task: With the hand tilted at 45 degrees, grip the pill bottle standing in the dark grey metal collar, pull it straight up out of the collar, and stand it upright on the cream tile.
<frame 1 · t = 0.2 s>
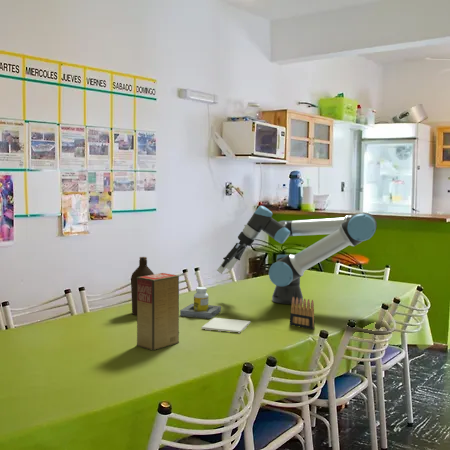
hand: (223, 270, 272), 15 cm above the table, tool tilted 35°, fingers open, 13 cm apart
food packaging: (158, 344, 204), on the table
ammunition clip: (301, 327, 231), on the table
pill bottle: (200, 314, 249), resting in metal collar
metal collar: (200, 313, 249), on the table
olive oil: (142, 313, 248), on the table
cream tile: (226, 326, 229), on the table
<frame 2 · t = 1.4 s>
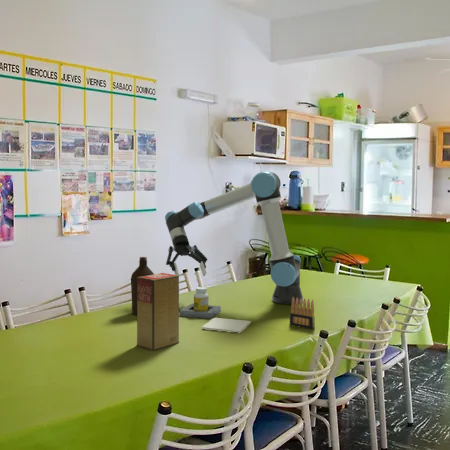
hand: (191, 275, 258), 15 cm above the table, tool tilted 45°, fingers open, 13 cm apart
nothing on the table moved.
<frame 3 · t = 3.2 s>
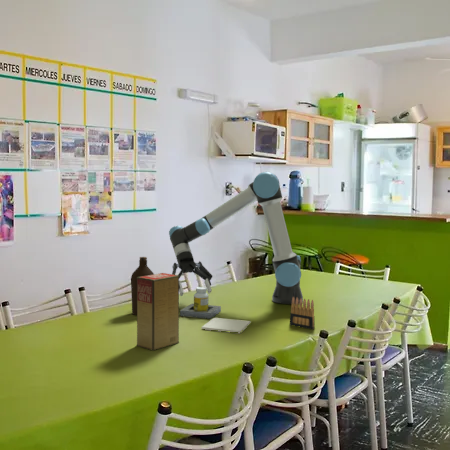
hand: (196, 293, 251), 9 cm above the table, tool tilted 45°, fingers open, 13 cm apart
nothing on the table moved.
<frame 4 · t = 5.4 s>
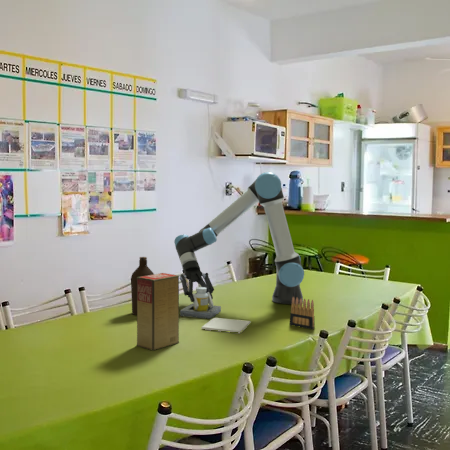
hand: (204, 306, 246), 4 cm above the table, tool tilted 45°, fingers closed on pill bottle, 6 cm apart
pill bottle: (200, 314, 249), resting in metal collar, touching gripper
everything else where it was.
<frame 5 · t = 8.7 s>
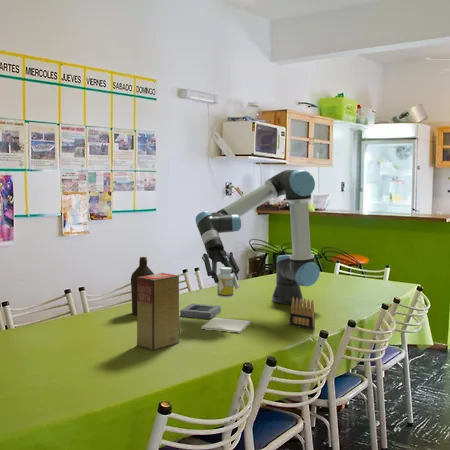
hand: (229, 288, 225), 16 cm above the table, tool tilted 45°, fingers closed on pill bottle, 6 cm apart
pill bottle: (225, 296, 229), point 12 cm above the table, touching gripper
everything else where it was.
when the fingers open (6 cm above the table, at t = 12.0 s): pill bottle stays where it is, resting on cream tile.
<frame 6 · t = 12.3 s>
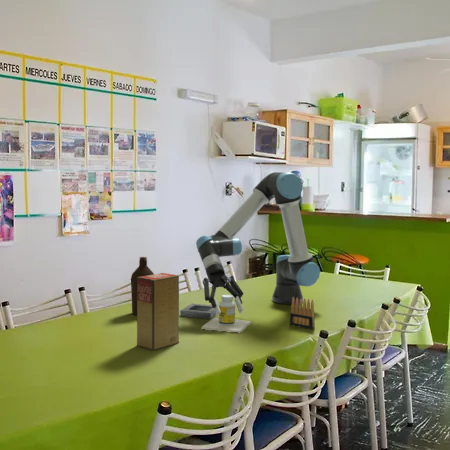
hand: (230, 312, 226), 6 cm above the table, tool tilted 45°, fingers open, 9 cm apart
pill bottle: (226, 324, 229), point 1 cm above the table, touching cream tile
everything else where it was.
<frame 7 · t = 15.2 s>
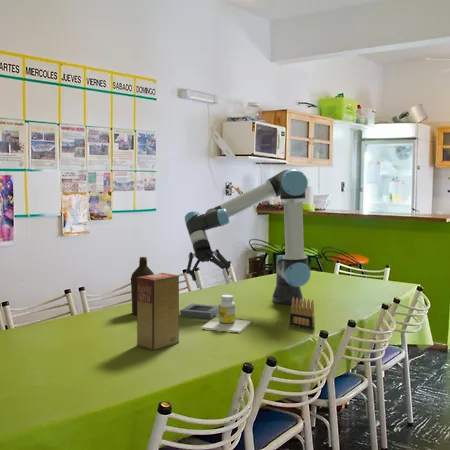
hand: (213, 284, 241), 15 cm above the table, tool tilted 40°, fingers open, 13 cm apart
nothing on the table moved.
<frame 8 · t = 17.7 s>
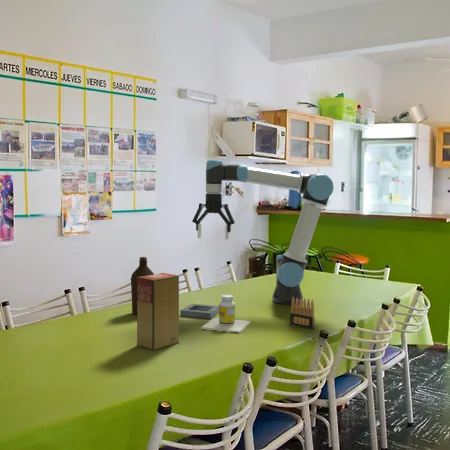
hand: (213, 238, 264), 32 cm above the table, tool pointing down, fingers open, 13 cm apart
nothing on the table moved.
at the end: pill bottle inside the target area on the cream tile (0.1 cm from its centre), point 0.8 cm above the cream tile's base; pill bottle tilted 0°; the gripper is holding nothing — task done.
